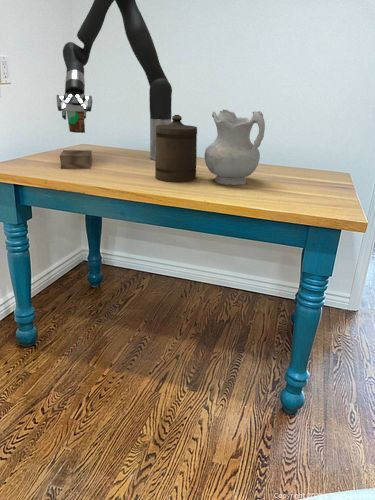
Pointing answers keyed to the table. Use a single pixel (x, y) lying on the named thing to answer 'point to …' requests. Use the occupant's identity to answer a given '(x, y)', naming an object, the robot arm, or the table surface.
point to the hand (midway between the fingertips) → (74, 118)
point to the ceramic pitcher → (234, 148)
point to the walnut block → (76, 159)
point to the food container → (75, 118)
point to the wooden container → (176, 151)
